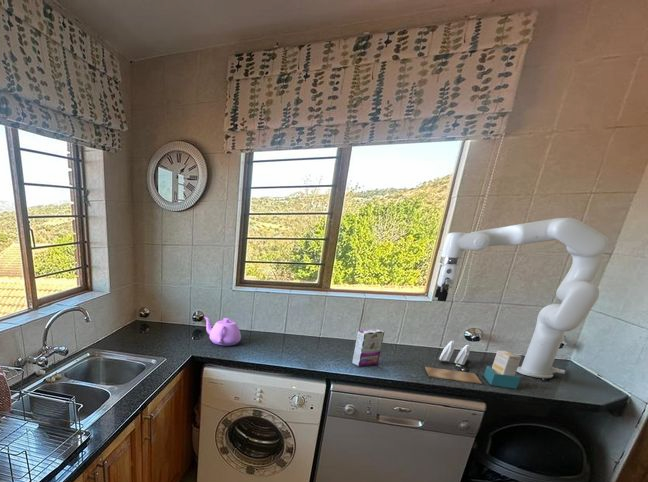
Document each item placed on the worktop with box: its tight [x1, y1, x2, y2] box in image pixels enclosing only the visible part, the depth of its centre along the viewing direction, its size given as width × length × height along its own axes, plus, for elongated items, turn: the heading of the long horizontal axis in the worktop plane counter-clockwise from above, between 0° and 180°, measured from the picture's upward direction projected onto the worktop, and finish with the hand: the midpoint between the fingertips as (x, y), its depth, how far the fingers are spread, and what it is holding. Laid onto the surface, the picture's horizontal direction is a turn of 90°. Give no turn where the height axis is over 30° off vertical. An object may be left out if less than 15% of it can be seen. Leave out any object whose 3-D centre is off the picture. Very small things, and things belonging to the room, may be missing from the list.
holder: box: [483, 365, 521, 389], centre depth 171 cm, size 9×12×5 cm
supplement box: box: [491, 350, 522, 376], centre depth 170 cm, size 8×5×13 cm, turn 168°
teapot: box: [203, 316, 242, 347], centre depth 222 cm, size 22×22×14 cm
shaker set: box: [438, 340, 471, 366], centre depth 193 cm, size 12×4×11 cm, turn 74°
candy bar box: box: [351, 328, 385, 367], centre depth 190 cm, size 11×5×16 cm, turn 105°
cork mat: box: [424, 366, 483, 385], centre depth 179 cm, size 19×13×1 cm
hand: (439, 299), depth 187 cm, fingers open, 9 cm apart
